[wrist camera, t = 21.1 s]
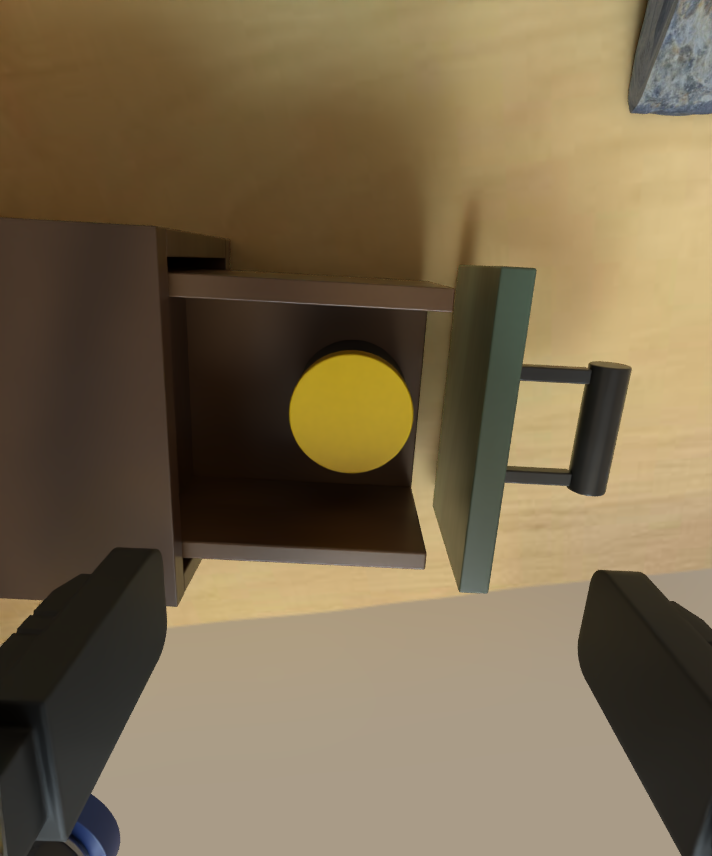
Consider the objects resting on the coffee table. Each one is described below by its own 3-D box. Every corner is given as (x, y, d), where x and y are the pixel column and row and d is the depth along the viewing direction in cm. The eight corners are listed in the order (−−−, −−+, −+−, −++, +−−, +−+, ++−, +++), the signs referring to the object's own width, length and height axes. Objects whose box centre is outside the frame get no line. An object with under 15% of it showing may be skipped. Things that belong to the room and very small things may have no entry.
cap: (401, 446, 26) (408, 477, 23) (298, 440, 26) (287, 470, 23) (410, 342, 25) (419, 357, 21) (300, 336, 25) (289, 350, 21)
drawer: (594, 272, 25) (696, 277, 17) (550, 512, 29) (618, 600, 21) (174, 249, 25) (94, 243, 17) (186, 493, 29) (124, 576, 21)
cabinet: (229, 239, 26) (155, 225, 16) (234, 498, 30) (177, 607, 20) (-99, 220, 25) (-366, 196, 16) (-48, 484, 29) (-237, 587, 20)
